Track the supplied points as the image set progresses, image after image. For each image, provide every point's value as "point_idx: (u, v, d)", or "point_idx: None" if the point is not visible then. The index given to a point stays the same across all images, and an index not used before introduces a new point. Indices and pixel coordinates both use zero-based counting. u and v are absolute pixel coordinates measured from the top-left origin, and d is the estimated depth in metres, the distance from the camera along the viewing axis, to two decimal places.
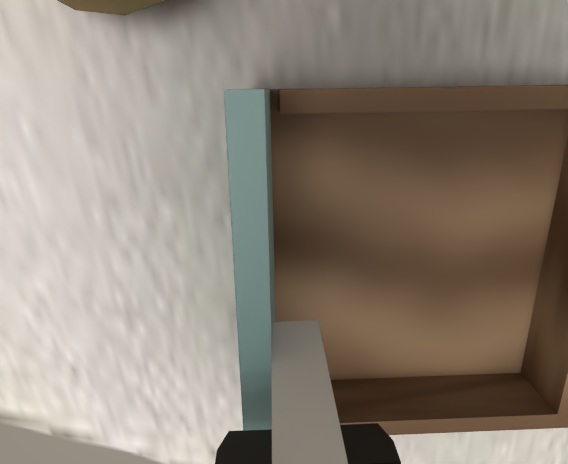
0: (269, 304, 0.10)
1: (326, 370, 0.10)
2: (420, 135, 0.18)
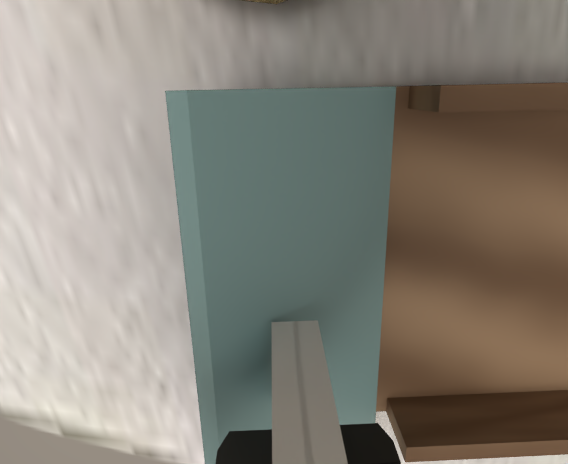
0: (207, 297, 0.10)
1: (326, 370, 0.10)
2: (557, 134, 0.17)
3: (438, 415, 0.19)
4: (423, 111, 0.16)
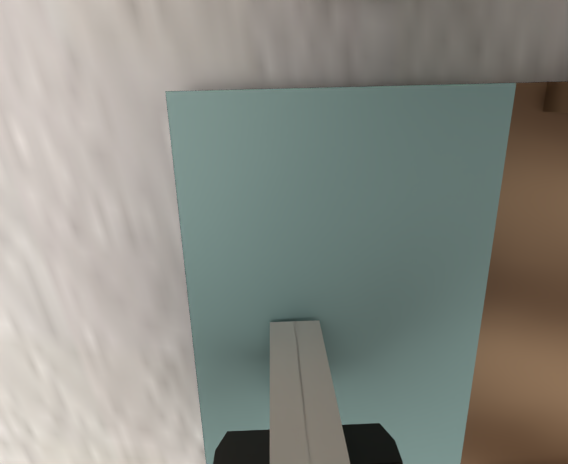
0: (187, 274, 0.12)
1: (328, 370, 0.10)
2: None
3: None
4: (562, 115, 0.12)
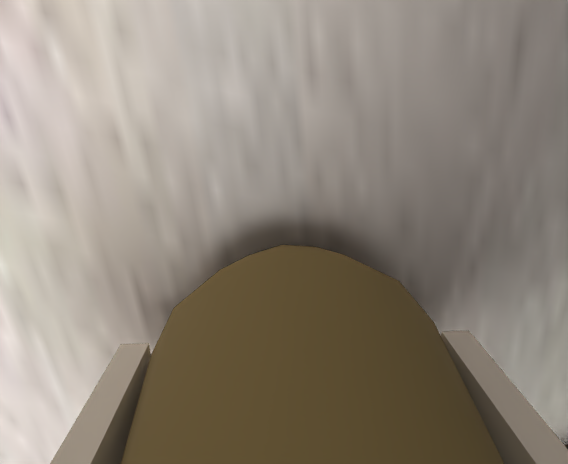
0: None
1: (513, 386, 0.09)
2: None
3: None
4: None
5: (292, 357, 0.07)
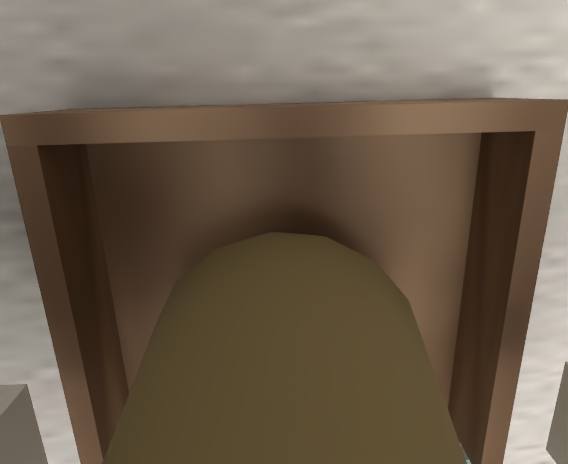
0: None
1: None
2: (143, 305, 0.16)
3: (464, 400, 0.16)
4: None
5: (264, 311, 0.08)
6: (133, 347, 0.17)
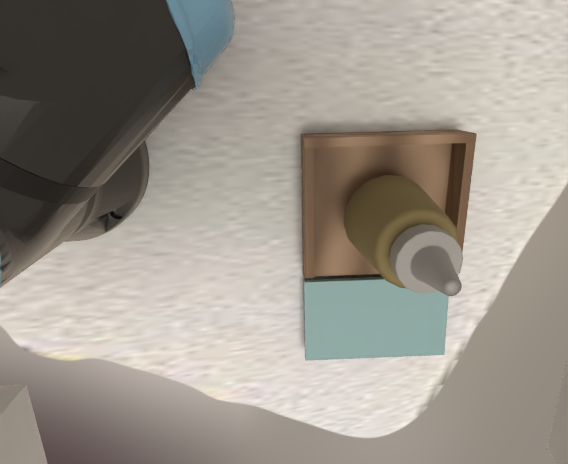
0: (349, 358, 0.45)
1: None
2: (322, 209, 0.42)
3: None
4: None
5: (398, 188, 0.34)
6: (315, 227, 0.42)
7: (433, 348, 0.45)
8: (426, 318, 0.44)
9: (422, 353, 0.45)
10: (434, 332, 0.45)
